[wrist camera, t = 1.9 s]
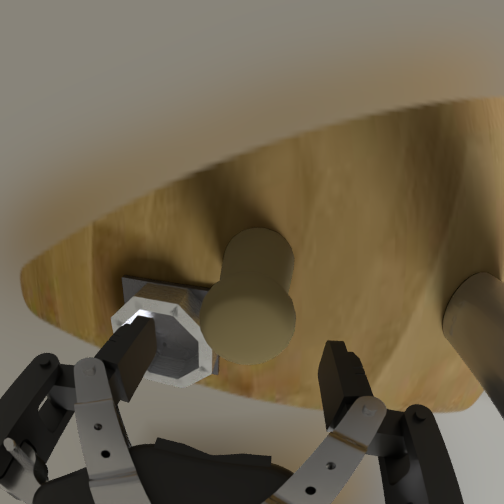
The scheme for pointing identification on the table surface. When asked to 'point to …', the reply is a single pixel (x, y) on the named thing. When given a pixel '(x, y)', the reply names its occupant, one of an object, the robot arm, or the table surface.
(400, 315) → the table surface
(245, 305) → the cork
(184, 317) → the duct collar
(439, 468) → the robot arm
